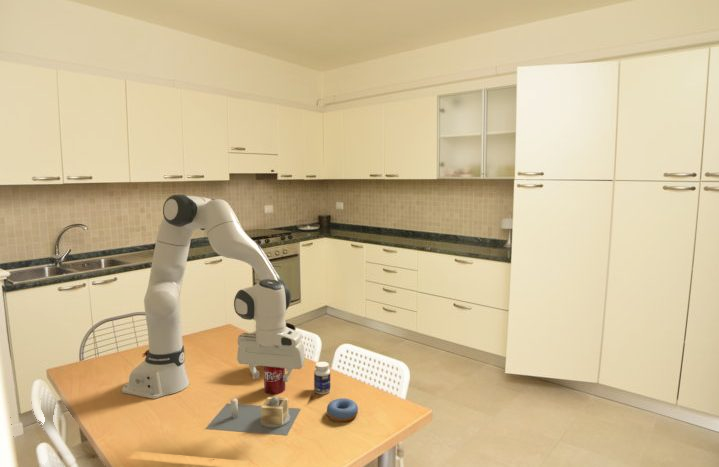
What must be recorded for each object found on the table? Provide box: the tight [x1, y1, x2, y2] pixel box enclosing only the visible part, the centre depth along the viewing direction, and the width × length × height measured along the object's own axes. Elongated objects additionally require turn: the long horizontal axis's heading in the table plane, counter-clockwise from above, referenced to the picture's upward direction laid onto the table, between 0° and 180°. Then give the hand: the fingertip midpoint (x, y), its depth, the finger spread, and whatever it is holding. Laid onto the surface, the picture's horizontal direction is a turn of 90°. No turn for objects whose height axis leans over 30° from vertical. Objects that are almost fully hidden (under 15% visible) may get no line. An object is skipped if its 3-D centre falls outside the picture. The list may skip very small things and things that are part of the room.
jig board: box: [204, 396, 302, 436], centre depth 138 cm, size 25×15×9 cm, turn 82°
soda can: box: [263, 366, 287, 396], centre depth 157 cm, size 7×7×12 cm
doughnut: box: [326, 397, 359, 423], centre depth 143 cm, size 10×10×5 cm
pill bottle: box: [313, 361, 331, 395], centre depth 158 cm, size 6×6×10 cm
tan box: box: [261, 396, 289, 425], centre depth 137 cm, size 6×6×5 cm
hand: (270, 379), depth 135 cm, fingers open, 8 cm apart
